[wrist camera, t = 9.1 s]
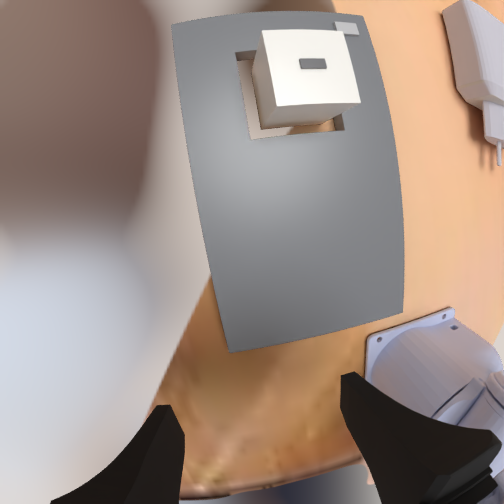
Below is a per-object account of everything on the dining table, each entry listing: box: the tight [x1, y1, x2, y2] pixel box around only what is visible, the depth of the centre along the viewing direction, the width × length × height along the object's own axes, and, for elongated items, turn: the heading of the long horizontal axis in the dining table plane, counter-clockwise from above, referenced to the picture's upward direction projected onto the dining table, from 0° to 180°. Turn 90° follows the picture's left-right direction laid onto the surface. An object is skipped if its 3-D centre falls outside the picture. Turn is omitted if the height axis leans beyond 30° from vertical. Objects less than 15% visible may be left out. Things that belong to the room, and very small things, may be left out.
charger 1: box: [251, 29, 361, 130], centre depth 14 cm, size 4×4×6 cm
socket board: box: [171, 11, 404, 353], centre depth 17 cm, size 13×22×2 cm, turn 9°
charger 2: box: [442, 0, 504, 166], centre depth 15 cm, size 5×9×15 cm
